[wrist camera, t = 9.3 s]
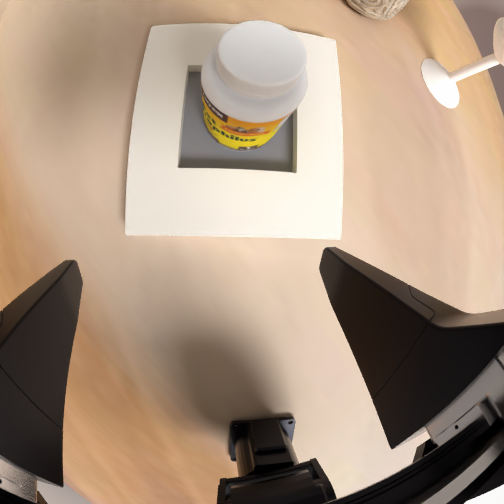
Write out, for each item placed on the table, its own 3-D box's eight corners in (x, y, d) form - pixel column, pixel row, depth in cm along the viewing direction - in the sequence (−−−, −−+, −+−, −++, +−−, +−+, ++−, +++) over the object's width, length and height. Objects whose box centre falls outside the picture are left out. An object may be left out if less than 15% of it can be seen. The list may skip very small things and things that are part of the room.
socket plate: (333, 237, 22) (340, 239, 21) (131, 233, 20) (125, 235, 18) (329, 47, 20) (335, 40, 18) (154, 34, 18) (151, 26, 16)
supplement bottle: (189, 129, 19) (171, 61, 9) (231, 77, 19) (246, -6, 9) (250, 168, 20) (283, 126, 10) (289, 114, 20) (343, 50, 10)
